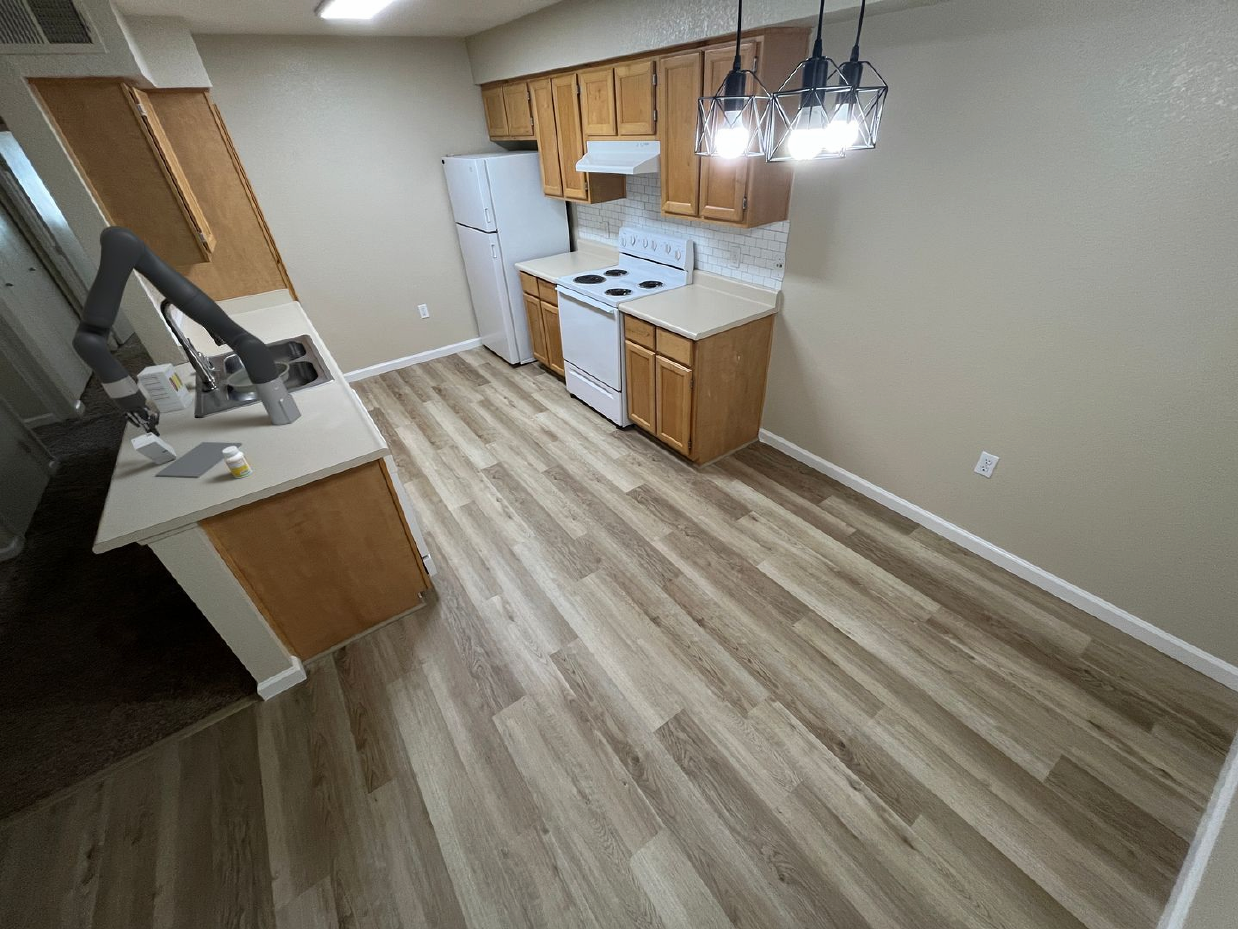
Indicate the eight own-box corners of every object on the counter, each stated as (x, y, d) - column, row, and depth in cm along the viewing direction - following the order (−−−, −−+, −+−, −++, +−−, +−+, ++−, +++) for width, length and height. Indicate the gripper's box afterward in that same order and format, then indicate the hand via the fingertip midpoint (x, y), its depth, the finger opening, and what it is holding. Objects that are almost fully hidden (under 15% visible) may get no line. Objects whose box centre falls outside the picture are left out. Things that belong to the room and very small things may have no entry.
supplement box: (186, 409, 209) (162, 371, 200) (160, 413, 207) (135, 376, 197) (193, 399, 217) (171, 362, 207) (168, 403, 215) (145, 366, 205)
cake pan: (294, 384, 223) (289, 375, 221) (229, 400, 214) (224, 391, 211) (292, 365, 241) (288, 357, 238) (232, 379, 232) (227, 370, 229)
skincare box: (158, 465, 175) (133, 450, 164) (154, 455, 176) (129, 440, 165) (178, 457, 177) (155, 441, 166) (173, 447, 178) (150, 431, 167)
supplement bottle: (239, 469, 170) (225, 445, 164) (256, 468, 170) (242, 443, 164) (231, 479, 165) (215, 454, 159) (248, 477, 165) (233, 453, 160)
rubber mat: (242, 444, 183) (241, 443, 183) (198, 477, 167) (197, 476, 167) (203, 443, 185) (202, 442, 185) (156, 476, 169) (155, 474, 169)
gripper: (95, 396, 161) (129, 442, 171) (131, 397, 159) (163, 443, 169) (117, 386, 167) (149, 430, 177) (151, 386, 165) (181, 431, 175)
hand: (156, 437), depth 173 cm, fingers closed
